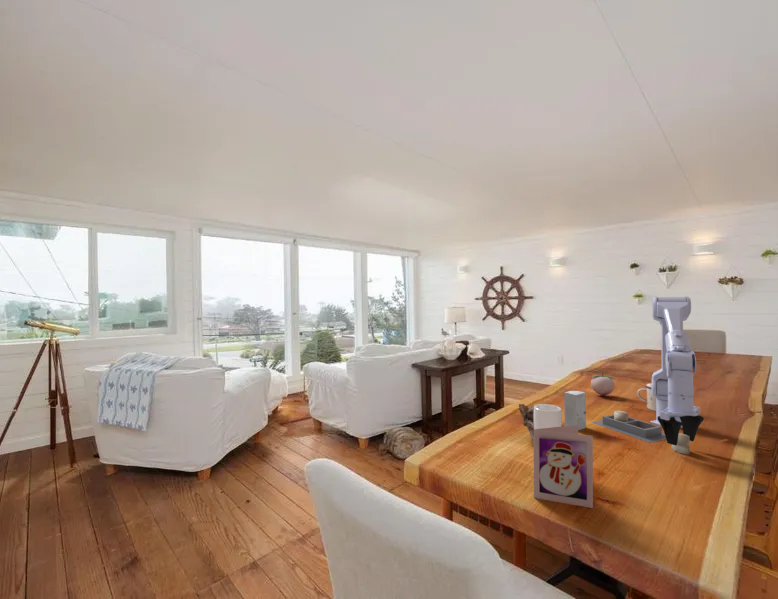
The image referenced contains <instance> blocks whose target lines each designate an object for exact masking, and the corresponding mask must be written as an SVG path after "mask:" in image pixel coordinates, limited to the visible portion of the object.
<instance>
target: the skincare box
mask: <svg viewBox="0 0 778 599" xmlns="http://www.w3.org/2000/svg"><path fill="white" fill-rule="evenodd" d="M563 397H564V398H563V400H564V405H563V407H564V408H563V409H564V426H570V425H578V431H580V430H584V429H586V428H587V408H586V406H587V405H586V401H587V400H586V392H584V391H580V390H569V391H565V392H563Z"/></svg>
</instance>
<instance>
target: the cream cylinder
mask: <svg viewBox="0 0 778 599" xmlns="http://www.w3.org/2000/svg"><path fill="white" fill-rule="evenodd" d="M690 442H691V441H690V437H689V436H688V435H685V434H683V433H681V432H679V434H678V442H677V445H672V444H671V449H672V450H674V451H675V452H674V453H676V452H678V453H677V454H680V453H682V455H690V448H691V447H690Z"/></svg>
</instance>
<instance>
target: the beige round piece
mask: <svg viewBox="0 0 778 599" xmlns="http://www.w3.org/2000/svg"><path fill="white" fill-rule="evenodd" d="M613 415H614V419H615V420H618V421H621V422H627V421H628V417H629V413H628V412H626V411H624V410H613Z"/></svg>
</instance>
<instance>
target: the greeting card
mask: <svg viewBox="0 0 778 599" xmlns="http://www.w3.org/2000/svg"><path fill="white" fill-rule="evenodd" d="M593 442H594V441H593V435H588V434H587V435H586V434H579V430H578V425H570V426H565V425H564V426H563V425H562V426H561V427H551V428H542V429H534V443H533V499H538V500H543V501H544V500H545V501H550V502H556V503H562V504H567V505H572V506H579V507H584V508H585V507H586V508H591V509H593V508H594V487H593V486H594V484H593V483H594V479H593V478H594V474H593V473H594V461H593V460H594V458H593V457H594V455H593V453H594V452H593V450H594V448H593V447H594V446H593V445H594V443H593Z"/></svg>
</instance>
